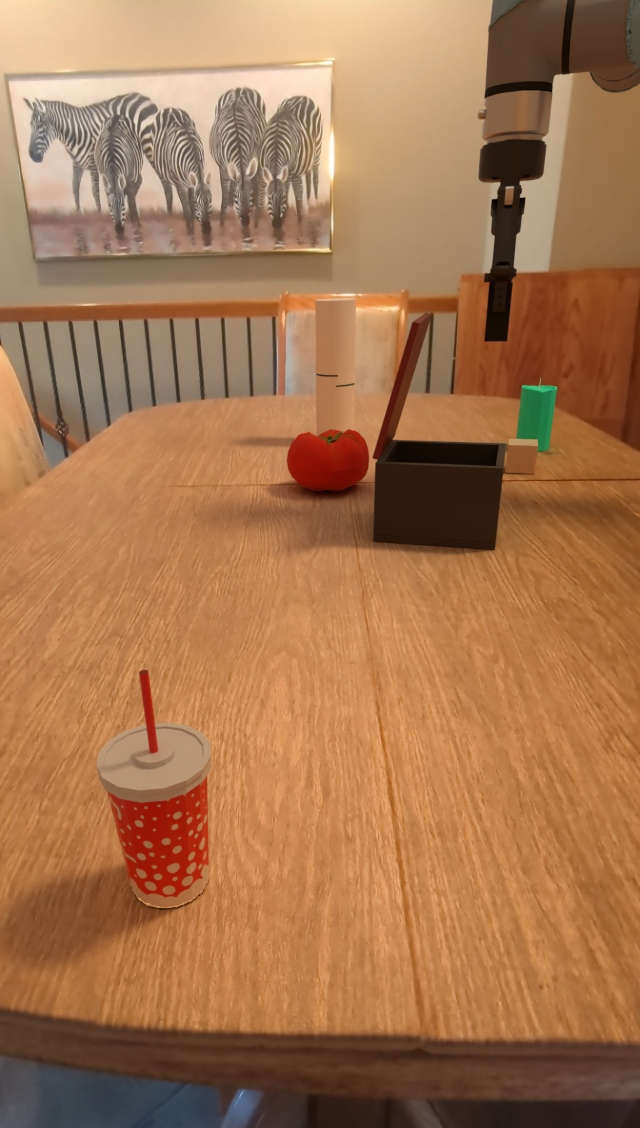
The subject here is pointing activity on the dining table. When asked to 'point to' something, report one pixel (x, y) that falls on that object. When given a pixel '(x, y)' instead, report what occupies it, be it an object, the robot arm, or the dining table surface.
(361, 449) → the tomato
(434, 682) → the dining table surface
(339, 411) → the cylindrical container
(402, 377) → the box lid
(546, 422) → the candle
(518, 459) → the block
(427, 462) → the open box
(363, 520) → the dining table surface
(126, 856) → the beverage cup
